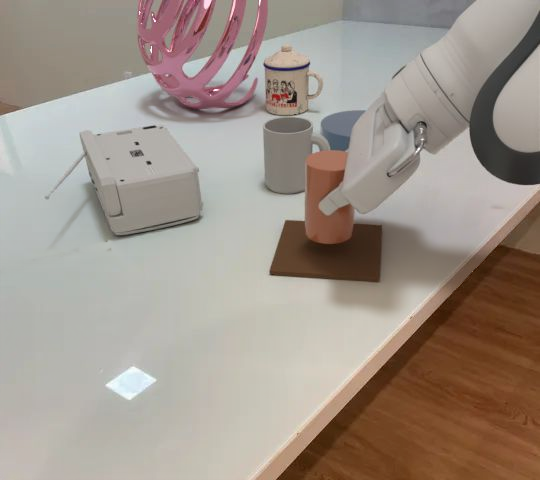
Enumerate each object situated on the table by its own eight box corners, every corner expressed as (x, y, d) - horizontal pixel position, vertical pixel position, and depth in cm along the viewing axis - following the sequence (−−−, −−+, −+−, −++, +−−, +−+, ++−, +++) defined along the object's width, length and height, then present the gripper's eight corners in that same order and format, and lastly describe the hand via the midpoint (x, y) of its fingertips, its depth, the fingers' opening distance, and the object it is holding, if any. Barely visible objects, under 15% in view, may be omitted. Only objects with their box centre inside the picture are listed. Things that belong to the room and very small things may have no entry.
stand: (399, 127, 103) (401, 110, 101) (399, 156, 93) (401, 138, 91) (323, 125, 105) (324, 109, 103) (316, 153, 95) (316, 136, 93)
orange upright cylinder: (354, 222, 70) (360, 150, 65) (351, 245, 66) (357, 171, 60) (307, 219, 71) (308, 149, 65) (301, 242, 67) (302, 169, 61)
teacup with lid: (257, 113, 112) (254, 48, 104) (275, 100, 118) (273, 38, 110) (314, 120, 108) (315, 53, 100) (329, 105, 114) (331, 41, 107)
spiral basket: (266, -25, 121) (162, -112, 101) (330, 33, 106) (224, -55, 87) (199, 91, 134) (96, 34, 114) (248, 156, 120) (140, 103, 100)
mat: (381, 228, 74) (382, 224, 74) (379, 282, 65) (379, 277, 64) (285, 223, 76) (285, 219, 76) (269, 274, 67) (269, 270, 66)
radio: (170, 167, 92) (46, 190, 87) (162, 115, 87) (29, 136, 82) (208, 220, 78) (61, 252, 72) (201, 162, 72) (42, 192, 67)
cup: (270, 173, 89) (268, 115, 83) (332, 177, 87) (335, 118, 82) (260, 192, 84) (257, 132, 78) (326, 197, 82) (328, 135, 76)
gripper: (448, 171, 51) (337, 257, 59) (436, 103, 66) (348, 179, 74) (405, 119, 49) (295, 216, 57) (403, 61, 64) (316, 144, 72)
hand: (325, 194), depth 66 cm, fingers closed on orange upright cylinder, 6 cm apart
